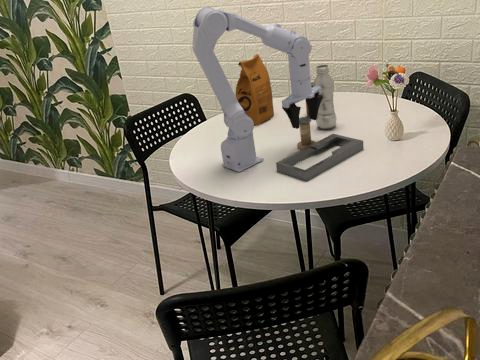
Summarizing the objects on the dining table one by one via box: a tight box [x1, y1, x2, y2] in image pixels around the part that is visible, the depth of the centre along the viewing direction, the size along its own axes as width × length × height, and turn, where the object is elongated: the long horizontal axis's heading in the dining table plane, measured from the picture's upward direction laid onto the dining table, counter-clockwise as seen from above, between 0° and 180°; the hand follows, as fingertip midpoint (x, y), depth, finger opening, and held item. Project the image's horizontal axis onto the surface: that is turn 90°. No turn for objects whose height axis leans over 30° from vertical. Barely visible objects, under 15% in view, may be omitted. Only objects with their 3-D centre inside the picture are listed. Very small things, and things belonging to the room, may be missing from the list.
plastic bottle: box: [312, 64, 337, 130], centre depth 160 cm, size 6×7×20 cm
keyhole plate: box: [275, 133, 365, 182], centre depth 142 cm, size 24×11×3 cm, turn 131°
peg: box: [296, 116, 317, 151], centre depth 151 cm, size 6×6×9 cm
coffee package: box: [235, 53, 275, 127], centre depth 176 cm, size 10×12×22 cm
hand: (304, 123), depth 150 cm, fingers open, 7 cm apart
